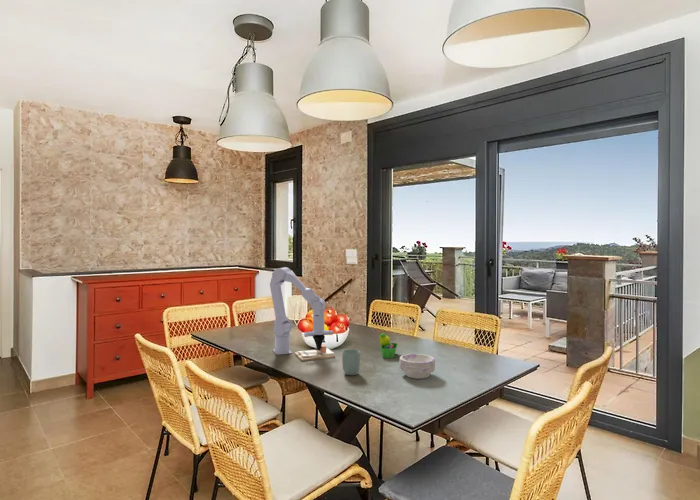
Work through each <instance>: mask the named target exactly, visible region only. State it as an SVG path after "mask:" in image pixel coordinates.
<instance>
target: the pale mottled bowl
mask: <svg viewBox="0 0 700 500" xmlns="http://www.w3.org/2000/svg"><path fill="white" fill-rule="evenodd" d="M435 367H436V359H435V357H434V356H431V355H428V354H423V353H420V354H419V353H407V354H406V353H405V354H403V355H401V356H399V370H400V371H403V372H404V375H405V376H406V377H408V378H411V379H416V380H417V379H418V380H419V379H420V380H421V379H422V380H423V379H426V378H428V377H429V376H430V375H431V373H433V372H435V371H436V368H435Z"/></svg>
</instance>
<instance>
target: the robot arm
mask: <svg viewBox="0 0 700 500" xmlns="http://www.w3.org/2000/svg"><path fill="white" fill-rule="evenodd" d="M285 282H289V283H291V284H292V285H293V286H294V287H296V289H298V291H300V292H301V297H302V298H304V300H305V301H306V302H307V303H308V304H309V305H310V306H311V310H312V331H307V332H304V334H303V335H304V337H305V338H308V337H312V338H313V340H314V341H313V342H314V343H315V347H316V350H320V349H321V345H322V344H323V342H324V341H325V336H328V335H329V336H330V335H331V336H333V333H334V331H333V330H330V329H329V330H325V308H326V307H327V303H326V301H325V299H324V298H321V296H319V295H317V293H316V292H315V290H314V288H310V287H308V288H307V286H306V285H304V283H303V282H302V280H300V279H299V277H298V276H297V275H296V274H295V272H294V271H292V270H291V268H289V267H286V266H283V267H278V268H276V269H274V270H273V272H272V273H271V279H270V281H269V287H270V293H271V298H272V299H271V300H272V305H273V310H274V315H275V319H274V322H273V329H272V330H273V334H274V335H275V337H274V348H273V349H272V351H273V352H274V354H276V355H277V356H278V355H288V354H292V353H293V352H292V350H290V346H291V345H290V343H291V342H290V340H291V338H290V336H291V335H290V332H291V330H292V329H293V328H292V323H291V322H290V320H289V317H288V316H287V315H286V309H285V303H284V298H283V297H284V296H283V292H282V285H283V284H284V283H285Z"/></svg>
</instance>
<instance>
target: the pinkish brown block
mask: <svg viewBox="0 0 700 500" xmlns="http://www.w3.org/2000/svg"><path fill="white" fill-rule="evenodd" d="M316 350H317V349H316ZM317 351H318V352H320V353H321V354H322V355H323V356H326V355H334V356H335V352H333V351H332V350H331V349H329V348H328V347H327V346H326V345H324V344H323V343H322V345H321V349H320V350H317Z"/></svg>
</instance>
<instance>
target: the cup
mask: <svg viewBox="0 0 700 500" xmlns="http://www.w3.org/2000/svg"><path fill="white" fill-rule="evenodd" d="M341 357H342V370H343V373H344V374H346V376H355V375H357V374H359V372H360V368H361V350H358V349H355V348H354V349H353V348H349V349H343V350H342V356H341Z"/></svg>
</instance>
